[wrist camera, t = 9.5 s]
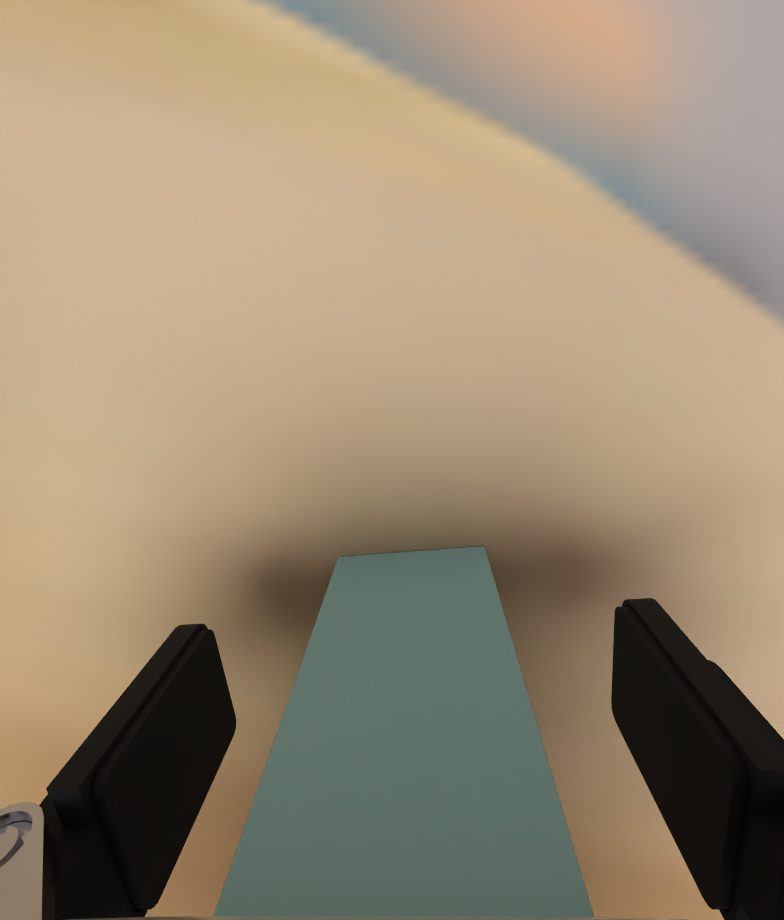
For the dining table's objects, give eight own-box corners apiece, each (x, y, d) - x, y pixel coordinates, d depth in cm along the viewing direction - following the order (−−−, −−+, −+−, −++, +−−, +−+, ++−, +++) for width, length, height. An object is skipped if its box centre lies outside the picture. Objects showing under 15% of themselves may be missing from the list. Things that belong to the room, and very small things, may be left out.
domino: (338, 556, 14) (201, 952, 5) (484, 545, 13) (605, 954, 5) (347, 613, 14) (238, 1055, 6) (487, 604, 14) (601, 1064, 5)
